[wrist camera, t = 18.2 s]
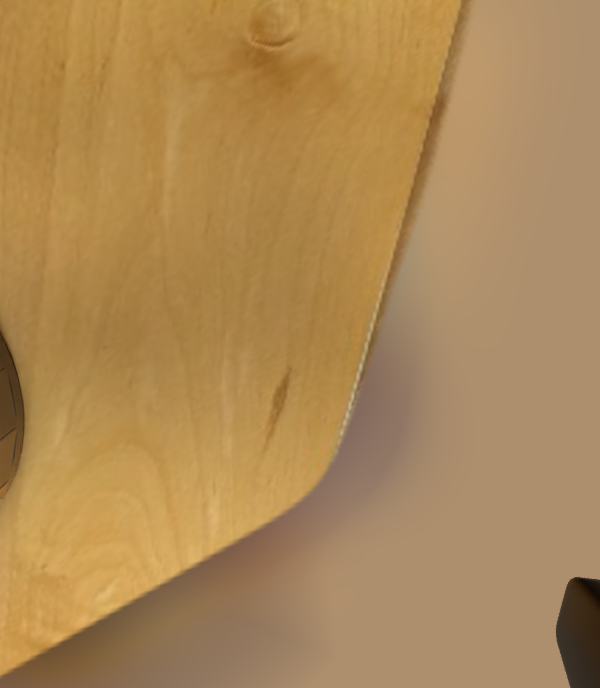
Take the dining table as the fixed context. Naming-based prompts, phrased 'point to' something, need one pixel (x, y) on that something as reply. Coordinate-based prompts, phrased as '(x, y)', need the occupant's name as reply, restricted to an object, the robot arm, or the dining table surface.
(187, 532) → the dining table surface
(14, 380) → the pot
